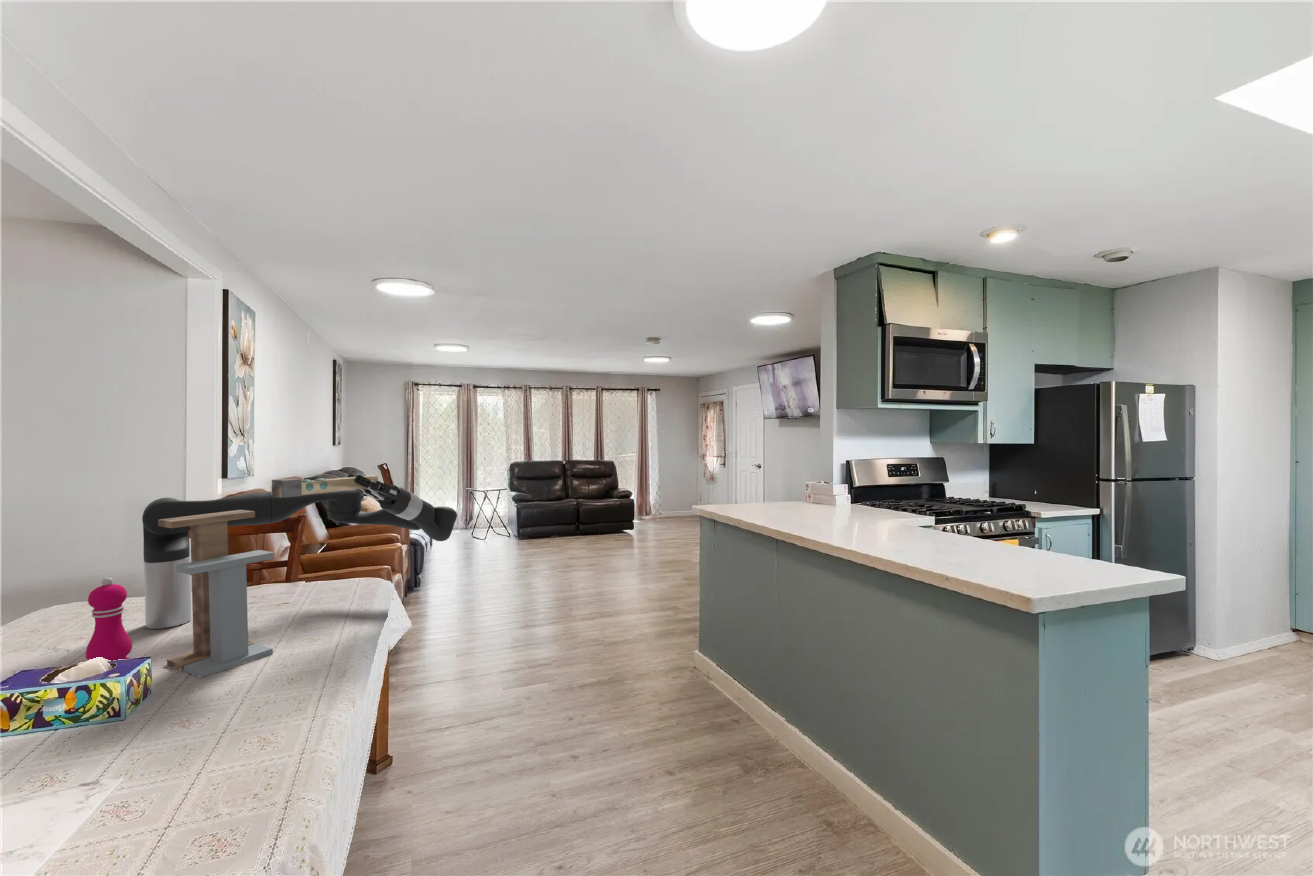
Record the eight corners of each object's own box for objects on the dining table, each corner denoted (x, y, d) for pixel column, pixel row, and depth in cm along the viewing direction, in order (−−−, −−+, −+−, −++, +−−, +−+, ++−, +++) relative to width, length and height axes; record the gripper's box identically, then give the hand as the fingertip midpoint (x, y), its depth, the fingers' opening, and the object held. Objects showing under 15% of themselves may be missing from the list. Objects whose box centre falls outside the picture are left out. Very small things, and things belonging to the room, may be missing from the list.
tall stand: (161, 666, 123) (157, 519, 122) (243, 641, 137) (240, 509, 137) (176, 672, 120) (172, 521, 119) (259, 646, 134) (256, 511, 133)
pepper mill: (103, 679, 117) (100, 583, 117) (76, 676, 118) (73, 581, 118) (141, 665, 124) (139, 573, 124) (115, 662, 126) (113, 572, 125)
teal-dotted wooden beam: (272, 496, 135) (271, 479, 135) (368, 486, 157) (368, 471, 157) (284, 497, 133) (283, 480, 133) (380, 486, 155) (380, 472, 155)
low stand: (178, 673, 120) (175, 564, 119) (260, 647, 134) (258, 549, 133) (194, 680, 116) (191, 568, 116) (277, 652, 130) (275, 552, 130)
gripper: (391, 490, 168) (342, 464, 155) (423, 492, 162) (375, 465, 148) (380, 513, 165) (329, 489, 152) (412, 516, 158) (362, 491, 145)
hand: (352, 477), depth 150 cm, fingers closed on teal-dotted wooden beam, 3 cm apart
